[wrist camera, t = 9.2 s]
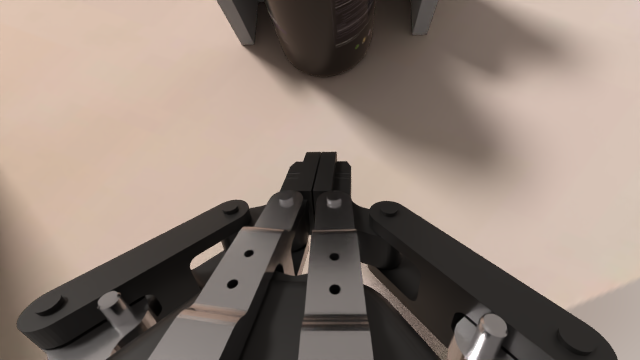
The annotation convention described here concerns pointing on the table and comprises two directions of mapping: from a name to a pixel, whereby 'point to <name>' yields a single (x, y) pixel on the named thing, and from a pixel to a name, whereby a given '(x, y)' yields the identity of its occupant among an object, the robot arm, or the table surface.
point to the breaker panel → (243, 3)
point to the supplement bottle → (323, 33)
